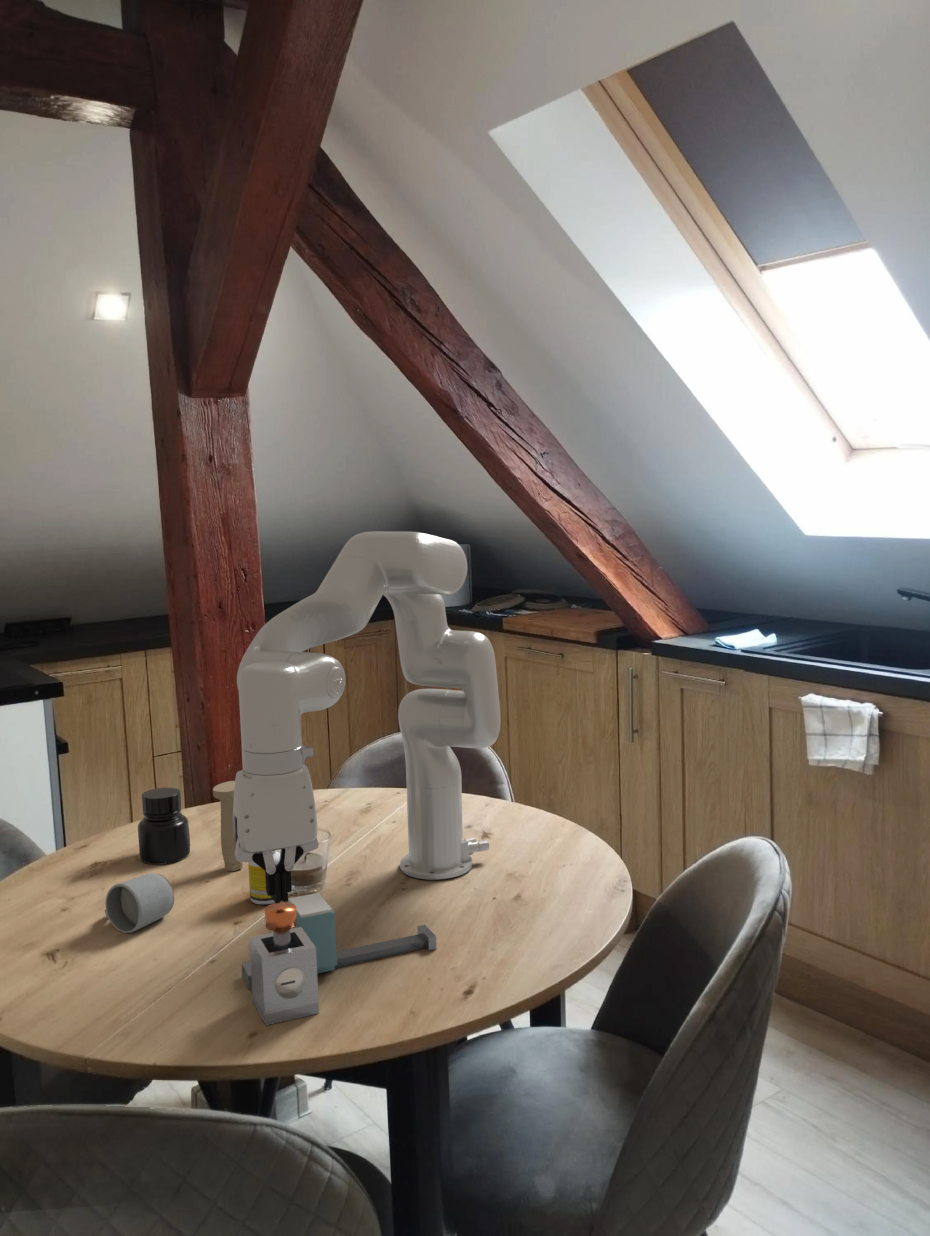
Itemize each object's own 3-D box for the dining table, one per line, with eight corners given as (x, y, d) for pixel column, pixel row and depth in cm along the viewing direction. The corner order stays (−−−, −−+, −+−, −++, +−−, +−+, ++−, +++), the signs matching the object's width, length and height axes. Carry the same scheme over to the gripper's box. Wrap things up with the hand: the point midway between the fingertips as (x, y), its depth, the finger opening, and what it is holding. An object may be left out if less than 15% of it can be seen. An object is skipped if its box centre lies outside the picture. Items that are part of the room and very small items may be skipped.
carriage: (322, 953, 157) (320, 891, 155) (337, 973, 150) (334, 909, 149) (289, 960, 155) (285, 898, 153) (302, 981, 148) (299, 916, 147)
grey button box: (304, 990, 146) (301, 926, 145) (319, 1014, 140) (316, 948, 138) (252, 1001, 143) (249, 937, 142) (266, 1027, 137) (262, 960, 136)
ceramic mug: (180, 917, 171) (176, 871, 170) (141, 938, 164) (137, 889, 163) (131, 907, 176) (127, 861, 175) (91, 926, 169) (87, 878, 168)
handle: (212, 874, 189) (207, 790, 187) (231, 861, 195) (226, 780, 193) (237, 876, 187) (232, 792, 185) (255, 863, 193) (250, 781, 191)
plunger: (294, 957, 144) (291, 900, 142) (302, 970, 140) (299, 911, 139) (264, 964, 142) (261, 905, 141) (272, 976, 138) (268, 917, 137)
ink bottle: (200, 849, 201) (196, 786, 200) (179, 866, 193) (175, 801, 191) (151, 847, 203) (147, 785, 201) (129, 864, 194) (124, 799, 193)
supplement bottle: (276, 906, 174) (273, 848, 173) (245, 904, 175) (241, 846, 174) (288, 893, 179) (285, 836, 178) (257, 891, 181) (254, 835, 179)
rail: (425, 937, 162) (424, 924, 161) (436, 949, 158) (436, 936, 157) (242, 976, 151) (241, 963, 150) (249, 990, 147) (248, 976, 146)
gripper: (321, 746, 143) (326, 879, 146) (207, 761, 137) (215, 899, 140) (338, 759, 136) (343, 899, 139) (219, 775, 131) (227, 920, 133)
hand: (279, 898), depth 139 cm, fingers closed
